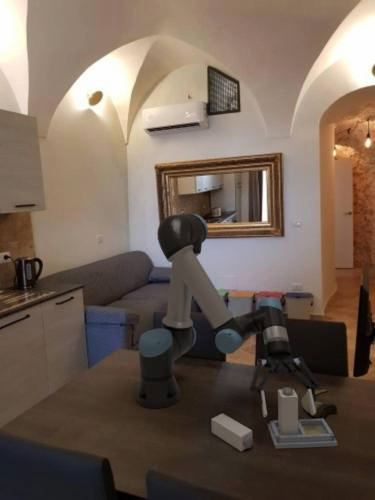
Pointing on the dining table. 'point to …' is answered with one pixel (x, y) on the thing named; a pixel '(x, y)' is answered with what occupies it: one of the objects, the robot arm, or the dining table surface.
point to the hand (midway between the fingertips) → (289, 415)
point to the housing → (304, 435)
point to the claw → (319, 406)
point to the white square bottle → (287, 411)
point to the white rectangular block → (232, 432)
